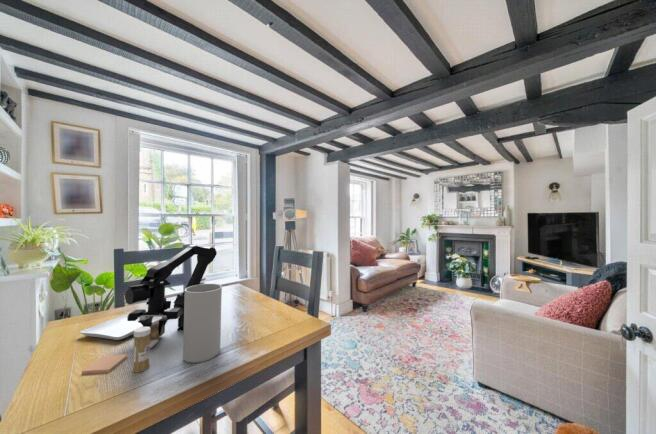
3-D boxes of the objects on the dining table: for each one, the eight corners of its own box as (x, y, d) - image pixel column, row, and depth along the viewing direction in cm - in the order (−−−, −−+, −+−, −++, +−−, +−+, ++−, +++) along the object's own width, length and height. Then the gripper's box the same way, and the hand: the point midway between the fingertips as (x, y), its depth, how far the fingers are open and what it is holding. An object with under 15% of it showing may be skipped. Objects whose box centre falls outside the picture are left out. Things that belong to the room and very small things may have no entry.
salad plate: (118, 345, 100) (119, 336, 100) (77, 339, 104) (78, 331, 104) (163, 323, 120) (163, 316, 120) (127, 319, 124) (127, 313, 124)
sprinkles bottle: (145, 372, 82) (146, 331, 82) (129, 373, 80) (130, 332, 81) (152, 364, 86) (153, 325, 86) (137, 365, 85) (138, 326, 85)
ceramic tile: (127, 354, 90) (109, 369, 81) (127, 358, 90) (109, 374, 81) (103, 356, 89) (81, 371, 80) (102, 360, 89) (81, 375, 80)
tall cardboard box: (167, 332, 107) (168, 321, 108) (151, 347, 95) (151, 334, 95) (152, 333, 107) (153, 321, 107) (134, 348, 94) (134, 335, 94)
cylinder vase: (195, 345, 99) (196, 283, 100) (225, 346, 99) (227, 284, 99) (174, 363, 87) (177, 292, 87) (209, 364, 86) (211, 292, 87)
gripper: (188, 291, 113) (187, 325, 113) (143, 292, 110) (142, 327, 110) (177, 298, 102) (176, 336, 102) (127, 300, 99) (125, 339, 99)
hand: (155, 334), depth 103 cm, fingers closed on tall cardboard box, 3 cm apart
